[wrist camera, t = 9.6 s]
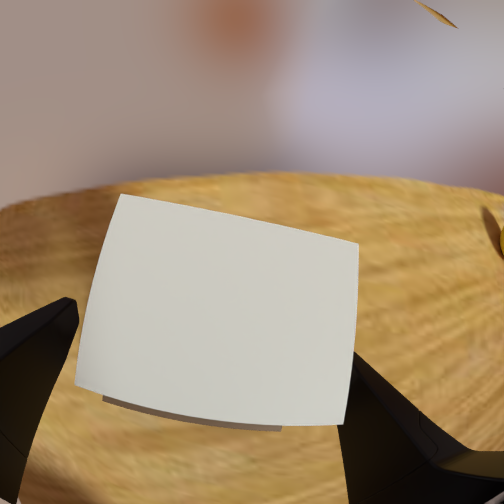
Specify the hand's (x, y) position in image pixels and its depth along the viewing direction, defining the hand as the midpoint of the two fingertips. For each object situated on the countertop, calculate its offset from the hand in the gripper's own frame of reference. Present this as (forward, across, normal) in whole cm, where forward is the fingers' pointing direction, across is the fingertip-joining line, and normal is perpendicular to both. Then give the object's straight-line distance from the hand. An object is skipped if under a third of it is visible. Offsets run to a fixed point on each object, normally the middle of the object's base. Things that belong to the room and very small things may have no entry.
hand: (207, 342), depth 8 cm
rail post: (+7, 0, +6) cm, 9 cm away
